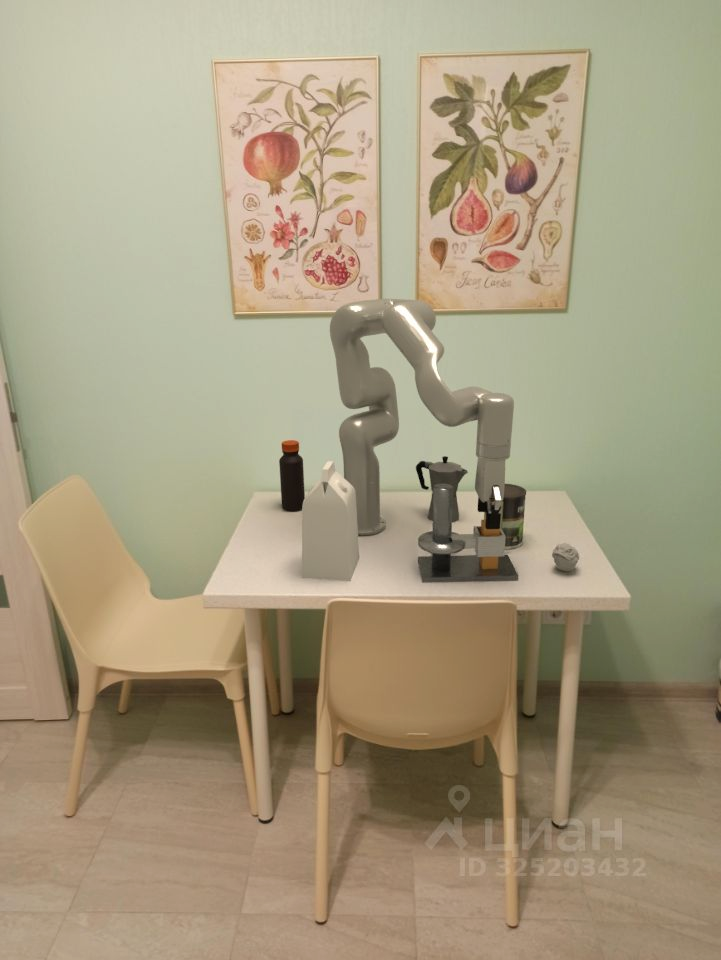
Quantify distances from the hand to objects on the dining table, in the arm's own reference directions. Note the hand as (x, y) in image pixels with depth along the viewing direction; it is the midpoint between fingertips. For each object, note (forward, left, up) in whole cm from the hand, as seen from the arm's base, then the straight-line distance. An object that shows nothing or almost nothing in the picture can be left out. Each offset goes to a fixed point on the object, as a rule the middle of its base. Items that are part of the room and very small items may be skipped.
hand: (488, 519), depth 157 cm
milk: (-37, +3, -13) cm, 39 cm away
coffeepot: (-7, +33, -13) cm, 36 cm away
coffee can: (+7, +16, -13) cm, 22 cm away
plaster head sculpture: (+18, -1, -13) cm, 22 cm away
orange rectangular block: (+1, 0, -12) cm, 12 cm away
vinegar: (-49, +42, -13) cm, 65 cm away
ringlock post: (-5, 0, -13) cm, 14 cm away
